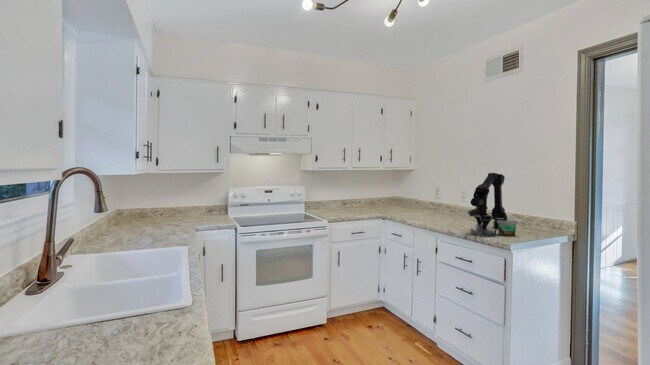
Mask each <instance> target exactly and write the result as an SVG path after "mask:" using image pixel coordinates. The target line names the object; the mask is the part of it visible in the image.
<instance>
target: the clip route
mask: <svg viewBox="0 0 650 365" xmlns="http://www.w3.org/2000/svg"><path fill="white" fill-rule="evenodd" d="M490 230H491V231H493V235H486V233H485V232H483V235H481V236H482V237H484V238H485V237H486V238H487V237H491V238H500V237H501V235H500V233H499V232H497V230H493V229H490Z"/></svg>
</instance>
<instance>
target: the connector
mask: <svg viewBox="0 0 650 365" xmlns="http://www.w3.org/2000/svg"><path fill="white" fill-rule="evenodd" d="M475 226H476V228H475V231H487V229H488V226H487V227H486V229H485V230H483V225H482V224H477V223H476V225H475Z"/></svg>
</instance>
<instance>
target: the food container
mask: <svg viewBox="0 0 650 365" xmlns="http://www.w3.org/2000/svg"><path fill="white" fill-rule="evenodd" d="M497 223H498V229H497V230H498V233H500V236H501V237H502V236H503V237H515V235H516V231H517V225H518V224H519V223H518V220H517V219H516V220H507V221H502V220H498V221H497Z"/></svg>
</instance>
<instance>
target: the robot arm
mask: <svg viewBox="0 0 650 365" xmlns="http://www.w3.org/2000/svg"><path fill="white" fill-rule="evenodd" d="M505 179H506V178H505V175H503V174H501V173H497V172H489V173H487V176H486V178H485V179H484V180H483V182H482V183H481V184H478V185H477V186H476V187H475V190H474V192H473V198H472V199H471V200H470V205H471V206H473V207H475V208H472V209H470V210H468V211H467V213H468V215H469V217H474V218H475V220H476V224H482V225H483V230H485V229H486V227H487V228H488V226H489V224H490V222H491V221H493V226H492V228H494V229H497V230H498V223H497V221H498V220H502V221H508V216H507V213H506V209H505V208H504V206H503V198H502V197H503V196H502V195H503V192H502V191H503V190H502V186H503V184H505V183H504V182H505ZM491 186H493V198H494V202H493V203H494V206H493V208H492V209H491V214H488V212H487V211H488V209H489V208H488V196H489V194H490V187H491Z"/></svg>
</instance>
